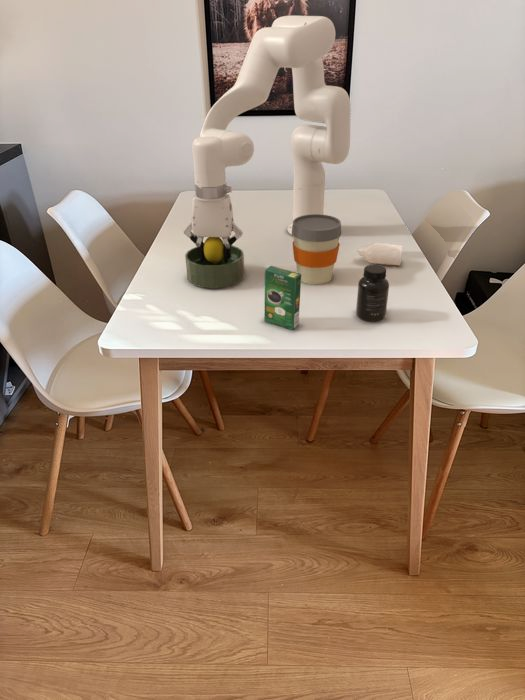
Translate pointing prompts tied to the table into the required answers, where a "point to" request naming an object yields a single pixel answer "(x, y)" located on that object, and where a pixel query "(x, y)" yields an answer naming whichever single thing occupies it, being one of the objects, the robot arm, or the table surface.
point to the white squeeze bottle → (382, 254)
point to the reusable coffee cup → (316, 246)
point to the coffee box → (282, 297)
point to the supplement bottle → (372, 294)
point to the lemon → (213, 249)
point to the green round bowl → (215, 269)
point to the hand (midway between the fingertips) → (214, 259)
